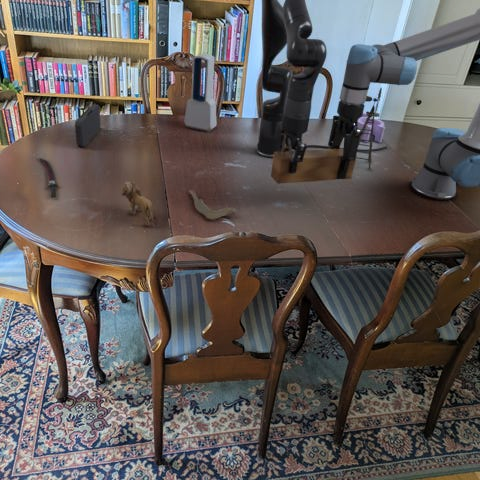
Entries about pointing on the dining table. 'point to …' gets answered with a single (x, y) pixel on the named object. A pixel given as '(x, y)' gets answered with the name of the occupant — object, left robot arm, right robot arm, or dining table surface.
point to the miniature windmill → (372, 125)
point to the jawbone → (207, 211)
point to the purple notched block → (377, 127)
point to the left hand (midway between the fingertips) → (288, 168)
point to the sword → (52, 181)
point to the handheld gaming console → (87, 125)
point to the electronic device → (200, 107)
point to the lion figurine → (137, 201)
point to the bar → (309, 166)
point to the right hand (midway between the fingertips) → (336, 174)
